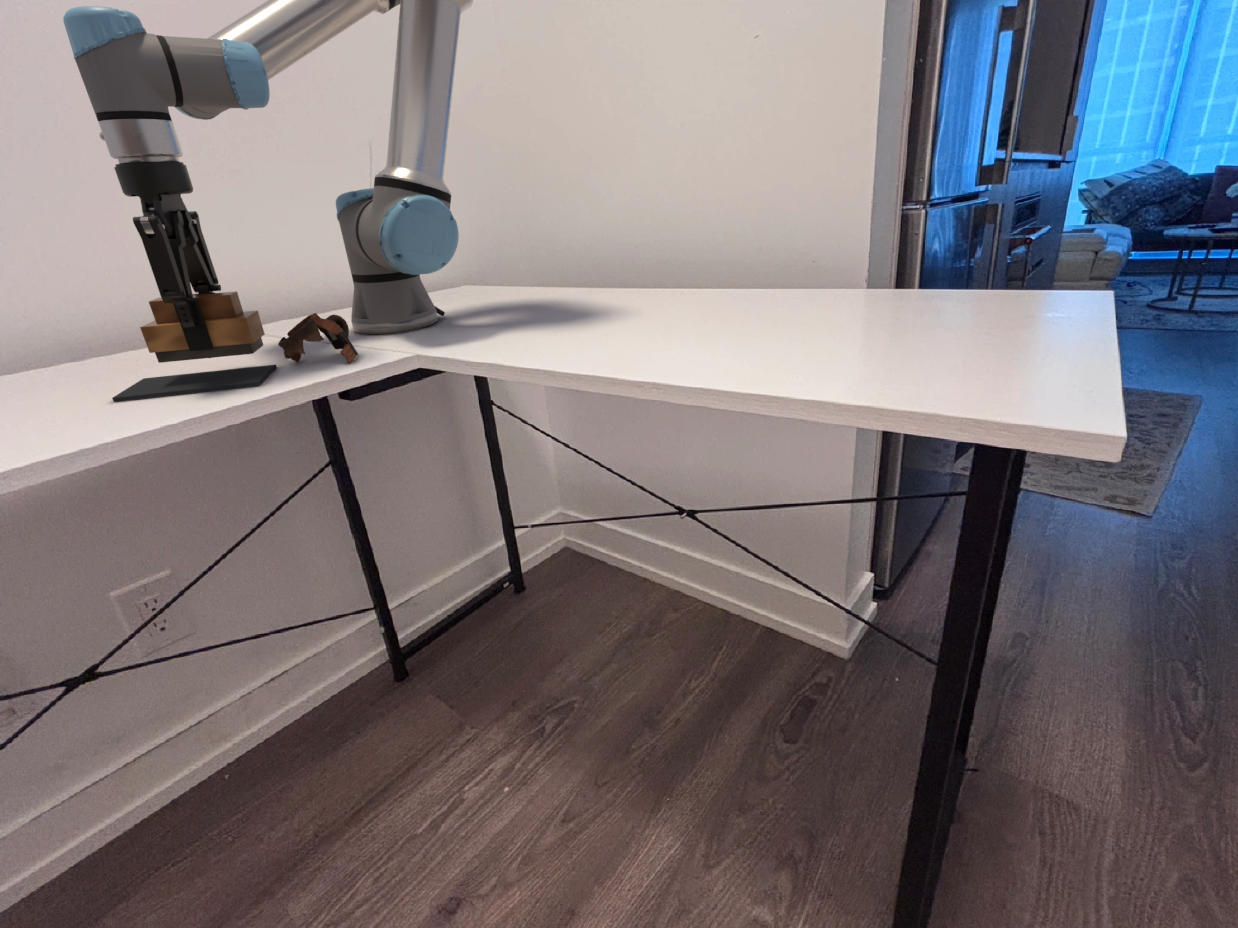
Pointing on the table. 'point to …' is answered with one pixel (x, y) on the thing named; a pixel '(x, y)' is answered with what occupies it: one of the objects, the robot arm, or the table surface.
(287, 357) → the brown black curved piece
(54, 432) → the table surface
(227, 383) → the mat
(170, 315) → the brush
